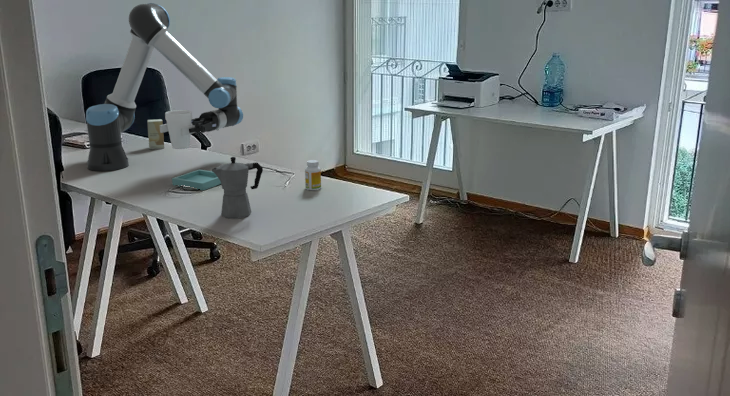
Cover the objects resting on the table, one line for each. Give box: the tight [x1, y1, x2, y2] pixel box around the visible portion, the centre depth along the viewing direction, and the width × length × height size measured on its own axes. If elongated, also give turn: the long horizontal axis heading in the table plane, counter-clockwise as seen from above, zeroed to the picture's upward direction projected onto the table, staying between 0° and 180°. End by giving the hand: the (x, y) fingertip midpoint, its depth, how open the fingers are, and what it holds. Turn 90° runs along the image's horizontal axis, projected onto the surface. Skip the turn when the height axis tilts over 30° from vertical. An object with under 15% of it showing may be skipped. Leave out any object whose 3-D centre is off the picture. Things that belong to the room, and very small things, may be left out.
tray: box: [171, 169, 221, 191], centre depth 243 cm, size 14×14×2 cm
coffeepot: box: [211, 156, 264, 220], centre depth 207 cm, size 15×9×18 cm, turn 111°
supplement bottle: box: [304, 159, 322, 191], centre depth 235 cm, size 5×5×10 cm
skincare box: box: [147, 118, 165, 150], centre depth 295 cm, size 6×4×12 cm
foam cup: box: [164, 109, 193, 150], centre depth 251 cm, size 10×9×13 cm
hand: (171, 130), depth 247 cm, fingers closed on foam cup, 9 cm apart
